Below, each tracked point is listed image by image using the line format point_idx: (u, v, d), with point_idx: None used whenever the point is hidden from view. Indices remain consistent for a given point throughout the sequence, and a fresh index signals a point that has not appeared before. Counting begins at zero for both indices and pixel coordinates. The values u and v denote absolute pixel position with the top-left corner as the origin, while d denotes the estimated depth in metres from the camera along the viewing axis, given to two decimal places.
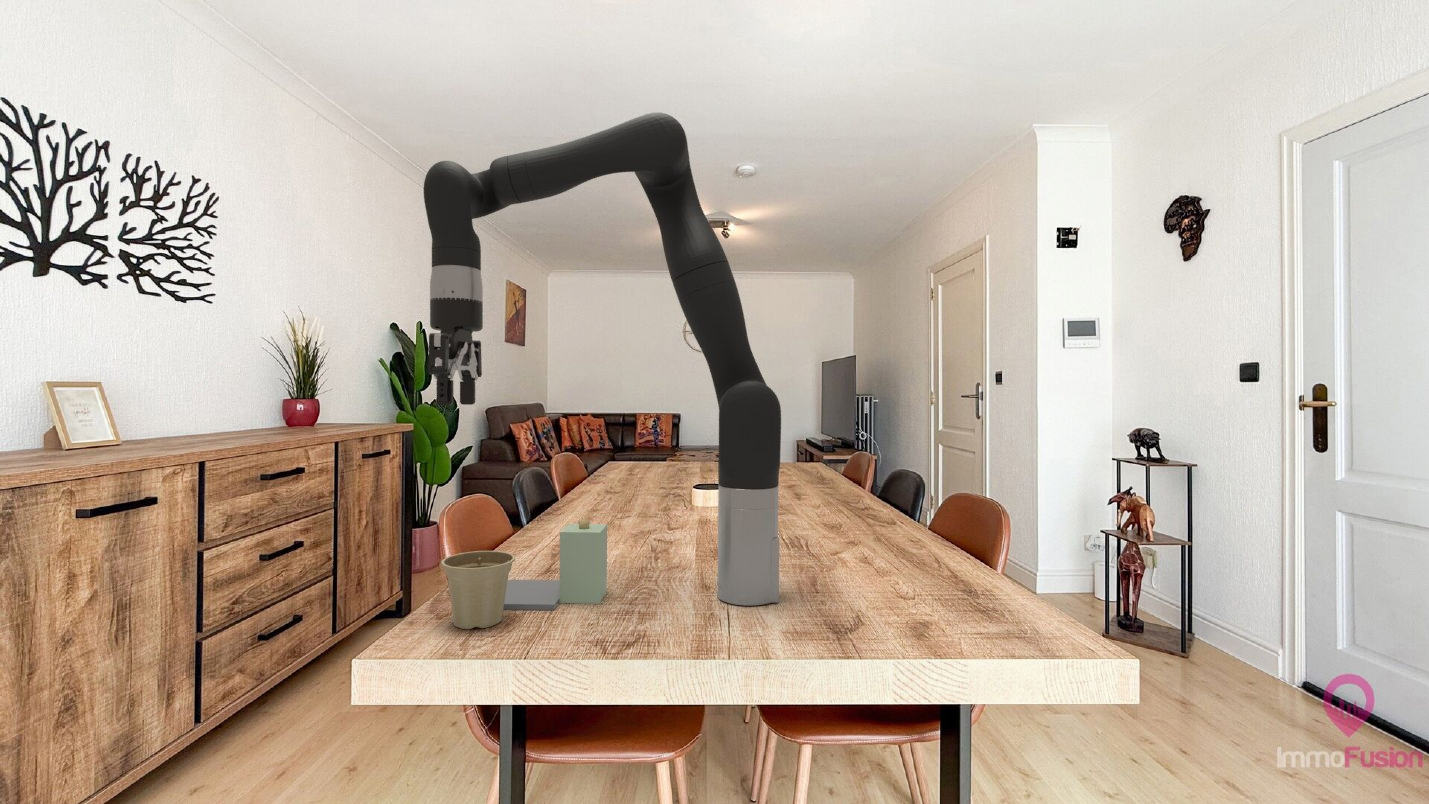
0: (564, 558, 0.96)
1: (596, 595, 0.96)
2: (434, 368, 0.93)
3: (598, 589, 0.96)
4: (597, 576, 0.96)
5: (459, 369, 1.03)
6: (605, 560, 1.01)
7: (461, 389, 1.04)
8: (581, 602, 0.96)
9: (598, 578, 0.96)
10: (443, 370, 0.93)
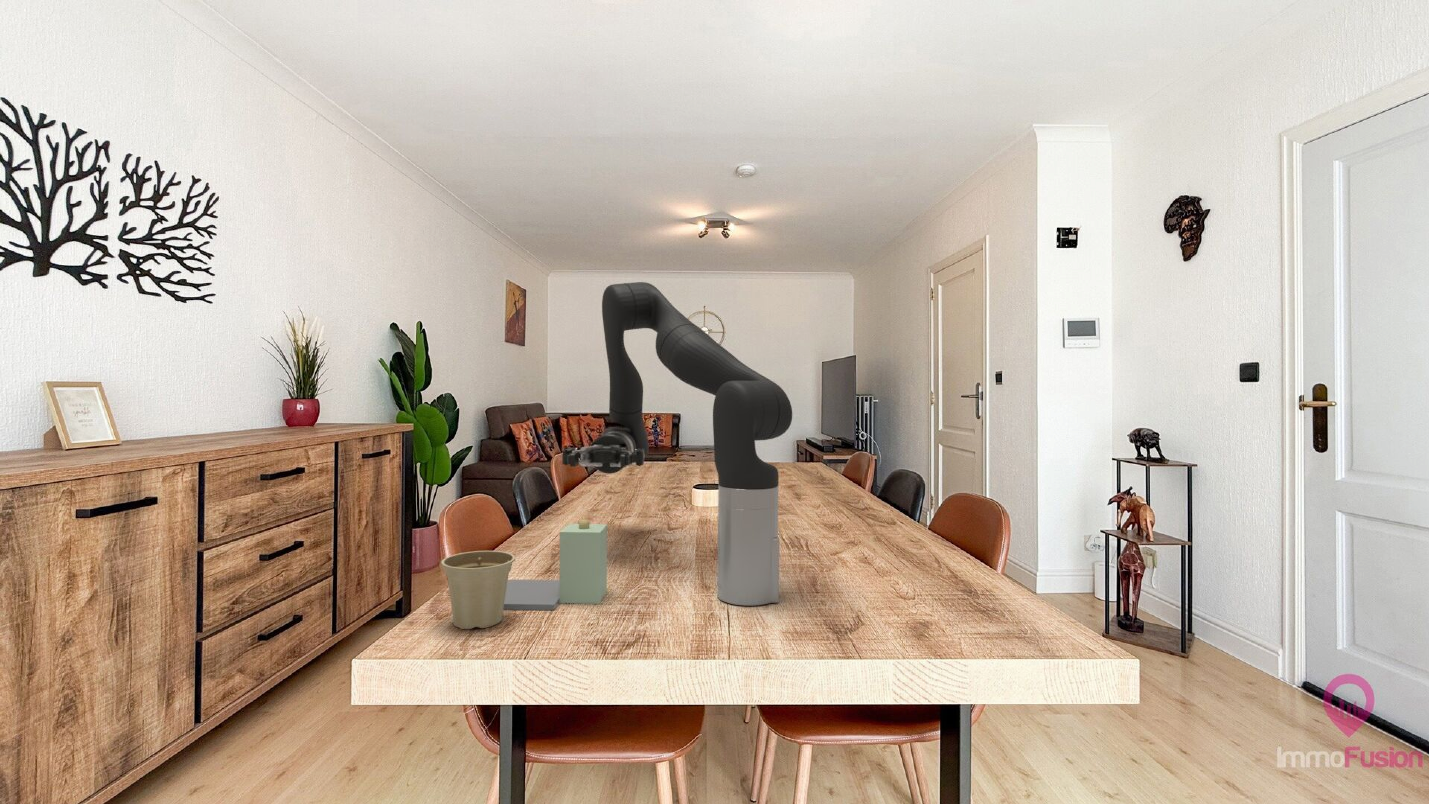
0: (564, 558, 0.96)
1: (596, 595, 0.96)
2: None
3: (598, 589, 0.96)
4: (597, 576, 0.96)
5: (620, 462, 1.16)
6: (605, 560, 1.01)
7: None
8: (581, 602, 0.96)
9: (598, 578, 0.96)
10: (562, 451, 1.15)
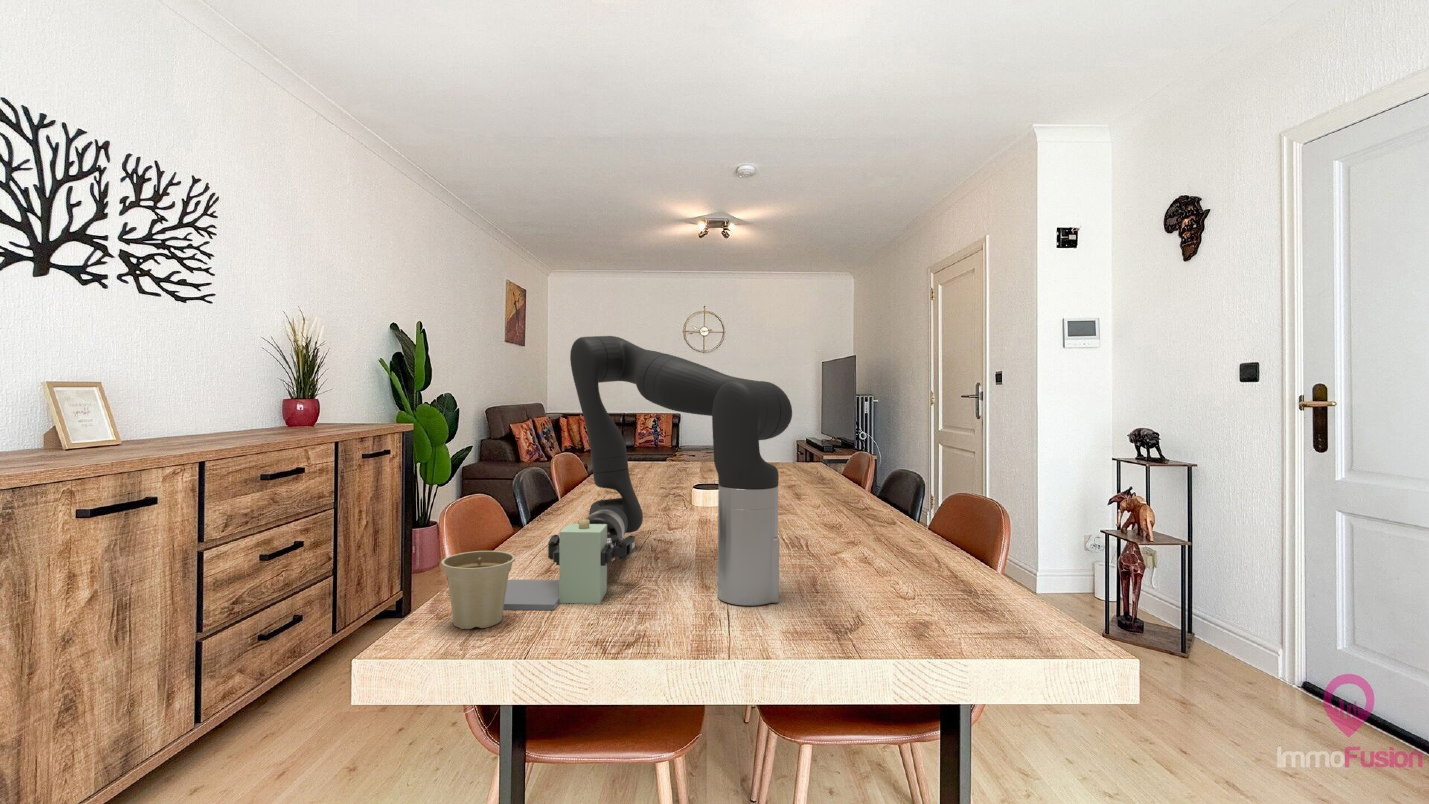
0: (564, 558, 0.96)
1: (596, 595, 0.96)
2: None
3: (598, 589, 0.96)
4: (597, 576, 0.96)
5: None
6: None
7: None
8: (581, 602, 0.96)
9: (598, 578, 0.96)
10: (548, 544, 1.02)
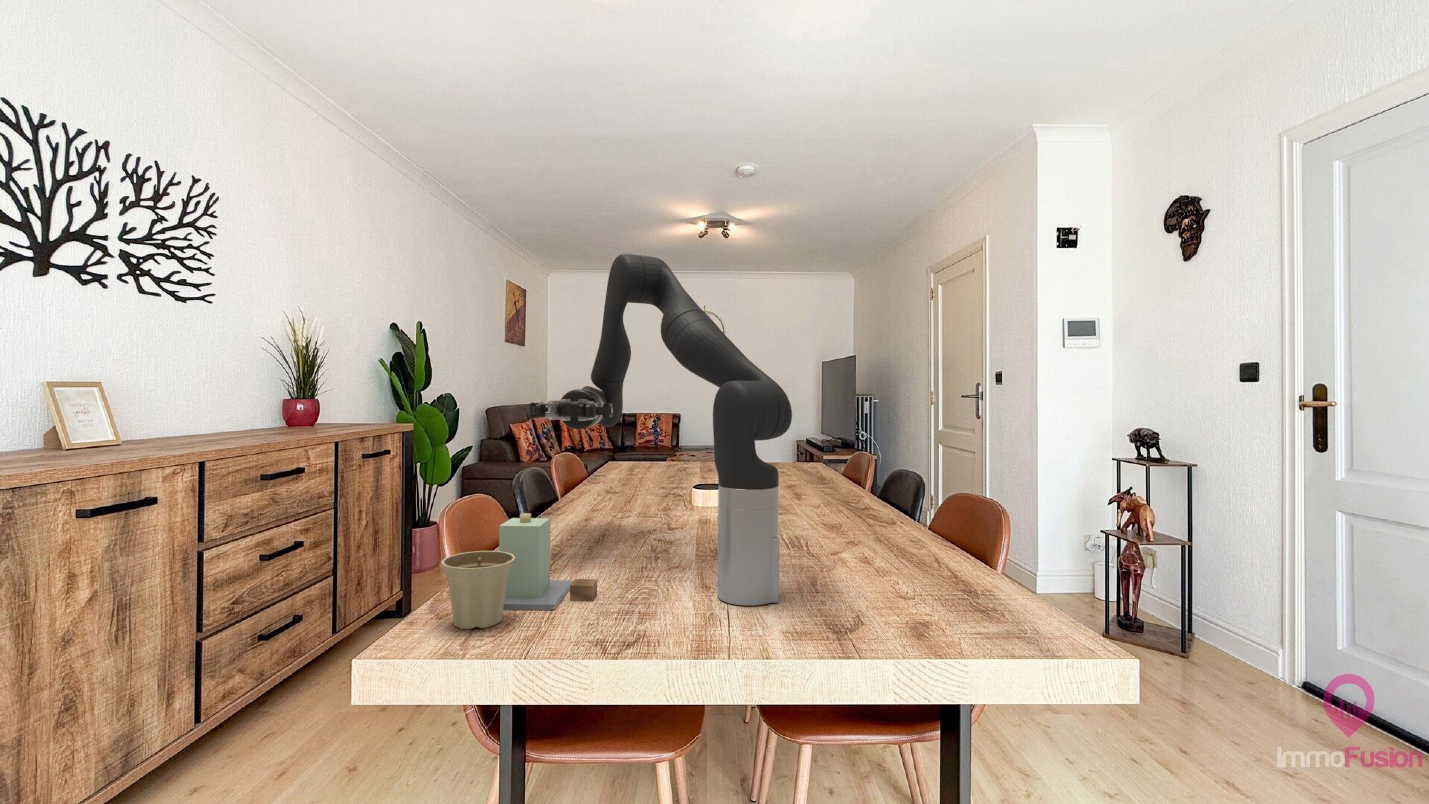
0: None
1: (535, 589, 0.96)
2: None
3: (537, 583, 0.96)
4: (537, 570, 0.96)
5: None
6: (547, 554, 1.01)
7: None
8: (521, 596, 0.96)
9: (537, 572, 0.96)
10: (529, 404, 1.15)
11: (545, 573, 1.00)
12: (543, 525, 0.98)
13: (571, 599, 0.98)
